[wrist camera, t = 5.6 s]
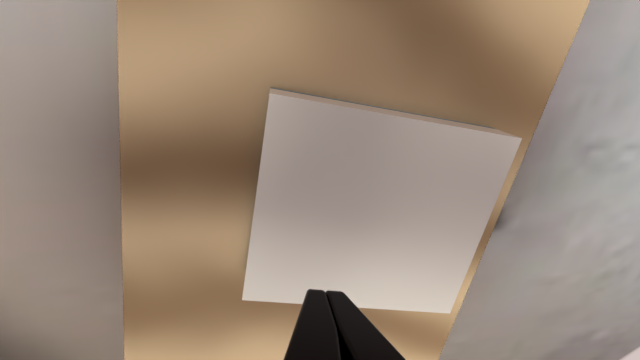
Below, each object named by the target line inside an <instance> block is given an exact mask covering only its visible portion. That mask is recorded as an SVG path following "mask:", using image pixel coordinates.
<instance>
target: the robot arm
mask: <svg viewBox="0 0 640 360" xmlns="http://www.w3.org/2000/svg"><path fill="white" fill-rule="evenodd" d="M284 360H406V359H405V358H404V357H403V356H402V355H401V354H400V353H399V352H398V351H397V349H396V348H395V347H394V346H393V345H392V344H391V343H390V342H389V341H388V340H387V339H386V338H385V336H384V335H383V334H382V333H381V332H380V331H379V330H378V329H377V328H376V327H375V326H374V325H373V324H372V322H371V321H370V320H369V319H368V318H367V317H366V316H365V315H364V314H363V313H362V312H361V311H360V309H359V308H358V307H357V306H356V305H355V304H354V303H353V302H352V301H351V300H350V299H349V298H348V297H347V295H346V294H345V293H343V292H342V291H332V290H327V291H326V292H325V291H324V290H318V289H308V290H307V292H306V295H305V298H304V301H303V304H302V307H301V310H300V313H299V316H298V319H297V321H296V324H295V327H294V330H293V333H292V336H291V339H290V342H289V345H288V348H287V351H286V354H285V357H284Z"/></svg>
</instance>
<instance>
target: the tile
mask: <svg viewBox="0 0 640 360" xmlns="http://www.w3.org/2000/svg"><path fill="white" fill-rule="evenodd" d="M521 140H522V138H520V137H517V136H514V135H511V134H509V133H506V132H503V131H500V130H498V129H495V128H492V127H487V126H482V125H476V124H471V123H465V122H460V121H454V120H449V119H443V118H438V117H432V116H427V115H421V114H416V113H410V112H405V111H399V110H394V109H388V108H383V107H377V106H372V105H366V104H361V103H355V102H350V101H344V100H339V99H333V98H328V97H322V96H317V95H311V94H306V93H300V92H295V91H289V90H284V89H278V88H273V87H270V94H269V101H268V109H267V116H266V124H265V131H264V139H263V146H262V154H261V161H260V169H259V176H258V184H257V191H256V199H255V206H254V214H253V221H252V228H251V236H250V243H249V251H248V258H247V266H246V273H245V281H244V288H243V296H242V300H246V301H262V302H277V303H293V304H303V301H304V298H305V295H306V292H307V290H308V289H318V290H324V291H325V292H326V291H327V290H332V291H342V292H343V293H345V294H346V295H347V297H348V298H349V299H350V300H351V301H352V302H353V303H354V304H355V305H356V306H357V307H358V308H371V309H386V310H402V311H417V312H433V313H449V314H450V312H451V310H452V307H453V305H454V303H455V300H456V298H457V295H458V293H459V290H460V288H461V286H462V283H463V281H464V278H465V276H466V273H467V271H468V269H469V266H470V264H471V261H472V259H473V257H474V254H475V252H476V249H477V247H478V244H479V242H480V240H481V237H482V235H483V232H484V230H485V227H486V225H487V223H488V220H489V218H490V215H491V213H492V210H493V208H494V206H495V203H496V201H497V198H498V196H499V194H500V191H501V189H502V186H503V184H504V181H505V179H506V177H507V174H508V172H509V169H510V167H511V164H512V162H513V160H514V157H515V155H516V152H517V150H518V147H519V145H520V143H521Z"/></svg>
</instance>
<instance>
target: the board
mask: <svg viewBox="0 0 640 360" xmlns="http://www.w3.org/2000/svg"><path fill="white" fill-rule="evenodd" d="M589 2H590V0H117V37H118V83H119V129H120V175H121V221H122V268H123V314H124V360H284V357H285V354H286V351H287V348H288V345H289V342H290V339H291V336H292V333H293V330H294V327H295V324H296V321H297V319H298V316H299V313H300V310H301V307H302V304H293V303H277V302H262V301H246V300H242V296H243V288H244V281H245V273H246V266H247V258H248V251H249V243H250V236H251V228H252V221H253V214H254V206H255V199H256V191H257V184H258V176H259V169H260V161H261V154H262V146H263V139H264V131H265V124H266V116H267V109H268V101H269V94H270V87H273V88H278V89H284V90H289V91H295V92H300V93H306V94H311V95H317V96H322V97H328V98H333V99H339V100H344V101H350V102H355V103H361V104H366V105H372V106H377V107H383V108H388V109H394V110H399V111H405V112H410V113H416V114H421V115H427V116H432V117H438V118H443V119H449V120H454V121H460V122H465V123H471V124H476V125H482V126H487V127H492V128H495V129H498V130H500V131H503V132H506V133H509V134H511V135H514V136H517V137H520V138H522V140H521V143H520V145H519V147H518V150H517V152H516V155H515V157H514V160H513V162H512V164H511V167H510V169H509V172H508V174H507V177H506V179H505V181H504V184H503V186H502V189H501V191H500V194H499V196H498V198H497V201H496V203H495V206H494V208H493V210H492V213H491V215H490V218H489V220H488V223H487V225H486V227H485V230H484V232H483V235H482V237H481V240H480V242H479V244H478V247H477V249H476V252H475V254H474V257H473V259H472V261H471V264H470V266H469V269H468V271H467V273H466V276H465V278H464V281H463V283H462V286H461V288H460V290H459V293H458V295H457V298H456V300H455V303H454V305H453V307H452V310H451V312H450V314H449V313H433V312H417V311H402V310H386V309H371V308H359V309H360V311H361V312H362V313H363V314H364V315H365V316H366V317H367V318H368V319H369V320H370V321H371V322H372V324H373V325H374V326H375V327H376V328H377V329H378V330H379V331H380V332H381V333H382V334H383V335H384V336H385V338H386V339H387V340H388V341H389V342H390V343H391V344H392V345H393V346H394V347H395V348H396V349H397V351H398V352H399V353H400V354H401V355H402V356H403V357H404V358H405V359H406V360H438V359H439V356H440V354H441V352H442V349H443V347H444V345H445V342H446V340H447V338H448V335H449V333H450V330H451V328H452V326H453V323H454V321H455V319H456V316H457V314H458V312H459V309H460V307H461V304H462V302H463V300H464V297H465V295H466V293H467V290H468V288H469V286H470V283H471V281H472V278H473V276H474V274H475V271H476V269H477V267H478V264H479V262H480V260H481V257H482V255H483V252H484V250H485V248H486V245H487V243H488V241H489V238H490V236H491V234H492V231H493V229H494V226H495V224H496V222H497V219H498V217H499V215H500V212H501V210H502V208H503V205H504V203H505V200H506V198H507V196H508V193H509V191H510V189H511V186H512V184H513V182H514V179H515V177H516V174H517V172H518V170H519V167H520V165H521V163H522V160H523V158H524V156H525V153H526V151H527V148H528V146H529V144H530V141H531V139H532V137H533V134H534V132H535V130H536V127H537V125H538V122H539V120H540V118H541V115H542V113H543V111H544V108H545V106H546V104H547V101H548V99H549V96H550V94H551V92H552V89H553V87H554V85H555V82H556V80H557V78H558V75H559V73H560V70H561V68H562V66H563V63H564V61H565V59H566V56H567V54H568V52H569V49H570V47H571V44H572V42H573V40H574V37H575V35H576V33H577V30H578V28H579V26H580V23H581V21H582V18H583V16H584V14H585V11H586V9H587V7H588V4H589Z"/></svg>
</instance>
